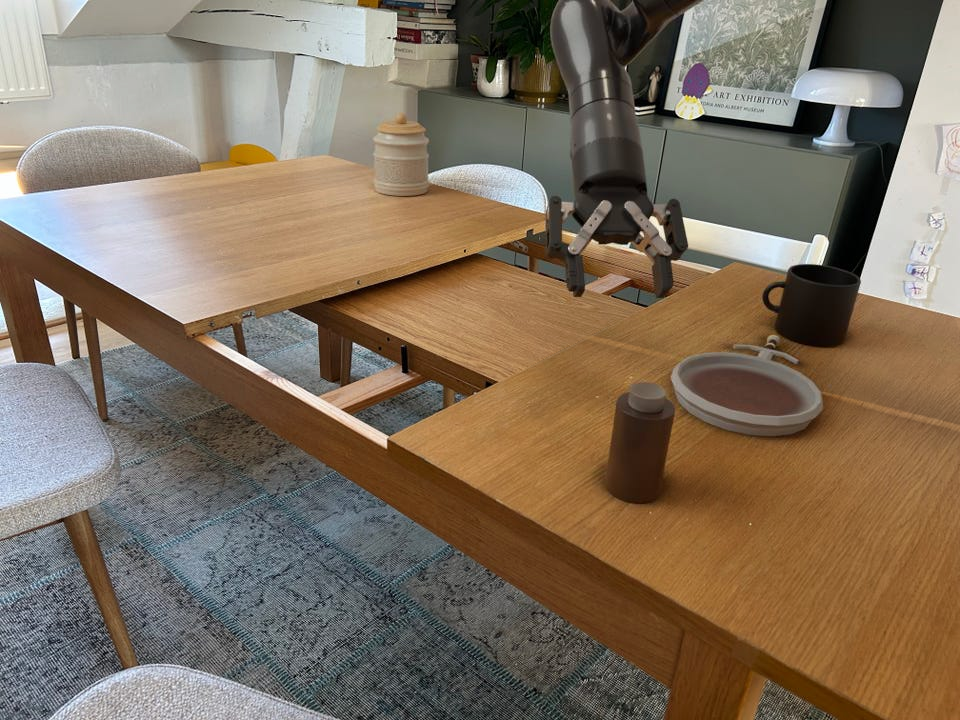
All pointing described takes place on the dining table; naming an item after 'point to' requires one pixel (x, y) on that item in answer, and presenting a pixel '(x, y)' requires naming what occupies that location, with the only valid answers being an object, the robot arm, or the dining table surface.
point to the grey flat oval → (747, 391)
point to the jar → (401, 158)
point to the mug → (814, 304)
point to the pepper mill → (639, 443)
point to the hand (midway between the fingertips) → (621, 294)
